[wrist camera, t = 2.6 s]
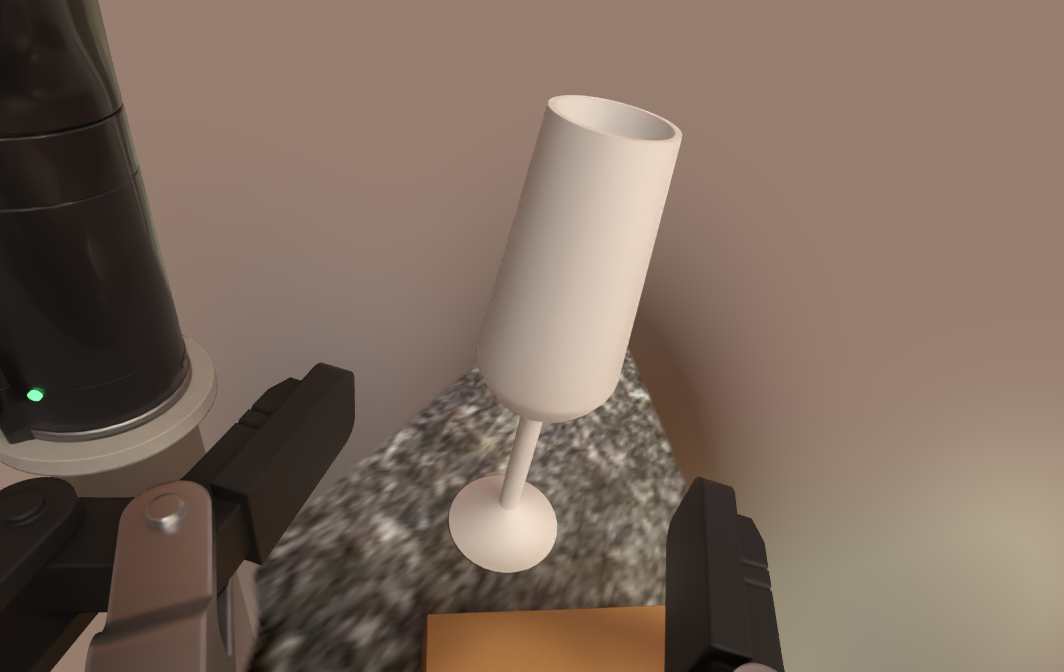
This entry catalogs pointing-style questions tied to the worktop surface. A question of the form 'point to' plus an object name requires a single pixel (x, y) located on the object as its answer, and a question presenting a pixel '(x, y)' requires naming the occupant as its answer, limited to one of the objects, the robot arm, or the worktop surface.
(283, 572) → the worktop surface
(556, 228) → the champagne flute
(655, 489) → the worktop surface
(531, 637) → the wooden coaster block
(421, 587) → the worktop surface
